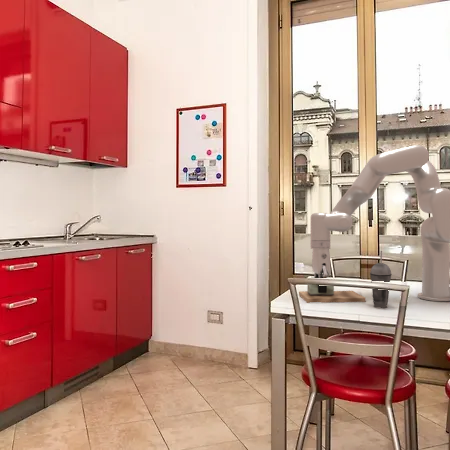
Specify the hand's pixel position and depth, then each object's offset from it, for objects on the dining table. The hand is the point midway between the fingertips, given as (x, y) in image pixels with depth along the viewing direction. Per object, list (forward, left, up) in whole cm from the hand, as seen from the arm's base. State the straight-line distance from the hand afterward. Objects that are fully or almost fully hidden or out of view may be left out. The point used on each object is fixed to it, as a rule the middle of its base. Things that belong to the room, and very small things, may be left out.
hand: (320, 290), depth 164 cm
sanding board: (-4, 0, -3) cm, 5 cm away
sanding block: (0, 0, -1) cm, 1 cm away
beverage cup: (-17, +15, -3) cm, 23 cm away
